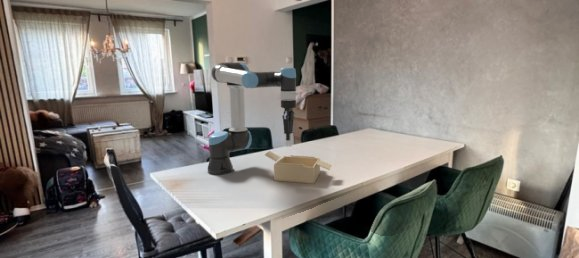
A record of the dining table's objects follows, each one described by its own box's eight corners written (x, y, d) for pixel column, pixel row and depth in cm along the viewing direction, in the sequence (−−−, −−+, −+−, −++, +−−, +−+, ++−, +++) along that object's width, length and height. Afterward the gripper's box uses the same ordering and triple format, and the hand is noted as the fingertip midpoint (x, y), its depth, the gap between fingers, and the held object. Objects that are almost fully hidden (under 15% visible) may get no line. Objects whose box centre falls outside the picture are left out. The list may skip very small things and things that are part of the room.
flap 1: (276, 160, 175) (275, 161, 175) (280, 157, 182) (280, 157, 183) (264, 154, 176) (264, 154, 176) (269, 150, 184) (269, 151, 184)
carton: (274, 180, 172) (273, 164, 170) (284, 170, 189) (283, 156, 187) (313, 183, 166) (313, 167, 164) (320, 173, 183) (320, 158, 181)
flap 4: (329, 169, 167) (329, 170, 167) (331, 165, 175) (331, 165, 175) (316, 163, 169) (316, 164, 169) (319, 159, 176) (319, 160, 176)
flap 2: (280, 164, 169) (280, 164, 168) (276, 162, 162) (276, 163, 161) (305, 166, 165) (305, 166, 165) (302, 164, 158) (302, 165, 158)
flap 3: (293, 156, 194) (293, 157, 194) (290, 155, 187) (290, 156, 187) (315, 157, 190) (315, 158, 190) (313, 156, 183) (313, 157, 183)
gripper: (292, 101, 147) (292, 149, 151) (299, 98, 159) (299, 143, 164) (276, 100, 149) (277, 148, 153) (285, 98, 161) (285, 142, 166)
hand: (288, 145), depth 159 cm, fingers closed
